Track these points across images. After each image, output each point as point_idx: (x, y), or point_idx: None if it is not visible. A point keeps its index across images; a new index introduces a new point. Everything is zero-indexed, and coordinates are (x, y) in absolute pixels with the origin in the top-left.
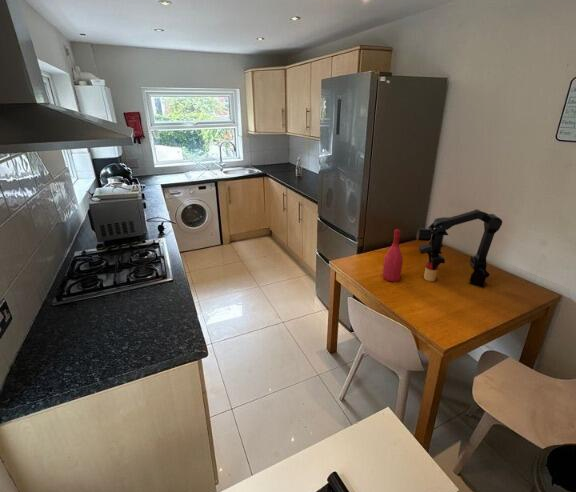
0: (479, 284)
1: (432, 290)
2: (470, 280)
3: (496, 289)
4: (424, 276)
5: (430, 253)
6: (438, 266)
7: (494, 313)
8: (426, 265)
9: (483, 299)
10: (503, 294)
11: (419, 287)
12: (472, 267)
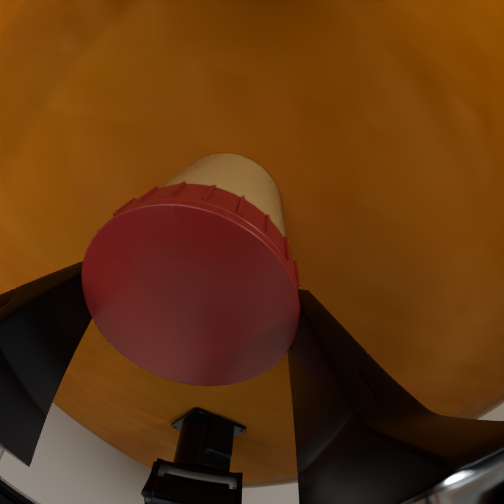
0: (181, 426)
1: (46, 171)
2: (211, 419)
3: (172, 440)
4: (215, 157)
5: (359, 491)
6: (141, 364)
7: None
8: (157, 198)
9: (74, 377)
10: (143, 436)
11: (66, 79)
12: (186, 490)
